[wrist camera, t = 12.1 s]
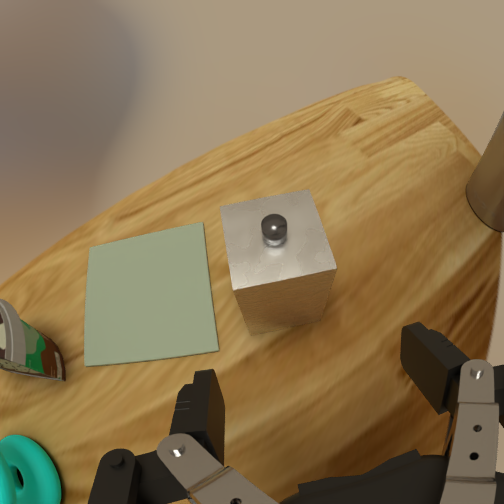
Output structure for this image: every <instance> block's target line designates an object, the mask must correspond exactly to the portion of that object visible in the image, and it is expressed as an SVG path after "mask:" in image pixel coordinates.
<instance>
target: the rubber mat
mask: <svg viewBox="0 0 504 504" xmlns="http://www.w3.org/2000/svg"><path fill="white" fill-rule="evenodd" d="M217 351H219V344H218V337H217V330H216V323H215V315H214V308H213V300H212V293H211V285H210V277H209V269H208V260H207V251H206V243H205V234H204V224H203V222H199V223H195V224H190V225H185V226H181V227H176V228H171V229H167V230H162V231H158V232H154V233H149V234H145V235H140V236H136V237H132V238H127V239H123V240H119V241H115V242H111V243H106V244H102V245H98V246H94V247H90V252H89V261H88V272H87V285H86V302H85V332H84V359H85V366H86V367H90V366H103V365H115V364H125V363H135V362H145V361H153V360H161V359H169V358H177V357H184V356H191V355H198V354H205V353H211V352H217Z"/></svg>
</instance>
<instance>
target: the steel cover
mask: <svg viewBox="0 0 504 504" xmlns="http://www.w3.org/2000/svg"><path fill="white" fill-rule="evenodd" d="M220 211H221V217H222V224H223V231H224V237H225V243H226V250H227V256H228V262H229V268H230V275H231V281H232V287H233V291H234V294H235V297H236V299H237V302H238V304H239V307H240V310H241V312H242V315H243V317H244V320H245V323H246V325H247V328H248V330H249V333H250V335H256V334H261V333H266V332H271V331H275V330H280V329H285V328H290V327H294V326H299V325H303V324H307V323H312V322H316V321H320V320H321V317H322V314H323V311H324V308H325V305H326V302H327V299H328V296H329V293H330V289H331V286H332V283H333V280H334V277H335V274H336V270H337V266H336V263H335V260H334V257H333V254H332V251H331V248H330V246H329V243H328V240H327V237H326V234H325V231H324V228H323V226H322V223H321V220H320V217H319V215H318V212H317V209H316V206H315V204H314V201H313V198H312V196H311V193H310V190H309V189H308V190H302V191H297V192H291V193H286V194H280V195H275V196H270V197H264V198H259V199H254V200H249V201H244V202H239V203H234V204H229V205H224V206H220Z"/></svg>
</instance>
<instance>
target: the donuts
mask: <svg viewBox="0 0 504 504" xmlns="http://www.w3.org/2000/svg"><path fill="white" fill-rule="evenodd" d="M17 468H18V469H19V471H20V472H21V475H22V477H23V481H24V487H22V485H21V483H20V481H19V478H18V475H17ZM60 501H61V484H60V480H59V476H58V473H57V471H56V468H55V466H54V464H53V462H52V461H51V459H50V457H49V456H48V455H47V453H46V452H45V451H44V450H43V449H42V448H41V447H40V446H39V445H38V444H37V443H36V442H34V441H33V440H31V439H29V438H27V437H25V436H22V435H9V436H7V437H5V438H3V439H2V440H1V441H0V504H60Z"/></svg>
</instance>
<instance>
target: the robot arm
mask: <svg viewBox="0 0 504 504" xmlns="http://www.w3.org/2000/svg"><path fill="white" fill-rule="evenodd" d="M466 193H467V198H468V201H469V203H470V205H471V207H472V209H473V210H474V212H475V213H476V214H477V215H478V217H479V218H480V219H481V220H482V221H483V222H485V223H486V224H487V225H488V226H490V227H491V228H493V229H495V230H498V231H501V232H504V112H503V114H502V116H501V119H500V121H499V123H498V125H497V127H496V130H495V131H494V134H493V136H492V138H491V140H490V142H489V144H488V146H487V148H486V150H485V152H484V154H483V156H482V158H481V159H480V161H479V163H478V165H477V167H476V169H475V171H474V172H473V174H472V176H471V178H470V180H469V181H468V184H467V187H466ZM400 359H401V364H402V366H403V369H404V370H405V371H406V373H407V374H408V375H409V376H410V378H411V379H412V380H413V382H414V383H415V384H416V386H417V387H418V388H419V390H420V391H421V392H422V393H423V395H424V396H425V397H426V399H427V400H428V401H429V403H430V404H431V405H432V407H433V408H434V409H435V411H436V412H437V413H438V415H440V414H442V413H444V412H447V411H449V412H450V417H449V421H448V427H447V432H446V437H445V442H444V446H443V451H442V455H423V456H420V454H419V453H418V451H417V449H415V450H412V451H410V452H407V453H405V454H402V455H400V456H397V457H394V458H391V459H389V460H387V461H386V462H384V463H382V464H381V465H379V466H377V467H376V468H374V469H372V470H370V471H369V472H367V473H365V474H363V475H357V476H345V477H330V478H325V479H321V480H316V481H312V482H307V483H302V484H298V488H299V492H298V493H296V494H294V495H292V496H290V497H288V498H286V499H284V500H283V501H281V502H280V503H277V502H276V501H274V500H273V499H272V498H270V497H269V496H268V495H266V494H265V493H264V492H262V491H261V490H260V489H258V488H257V487H256V486H255V485H253V484H252V483H251V482H250V481H248V480H247V479H246V478H245V477H243V476H242V475H241V474H240V473H238V472H237V471H236V470H235V469H234V468H232V467H230V466H227V467H226V468H225V467H224V435H225V405H224V399H223V396H222V393H221V390H220V386H219V383H218V380H217V377H216V374H215V371H214V369H209V370H202V371H195V374H194V380H193V384H185V385H184V386H183V388H182V389H181V390H180V391H179V393H178V396H177V401H176V402H177V403H176V405H175V411H174V415H173V419H172V424H171V429H170V433H169V436H168V437H166V438H164V439H163V440H162V441H161V442H160V443H159V445H158V447H157V450H155V451H153V452H150V453H146V454H142V455H138V456H134V454H133V453H132V452H131V451H129V450H127V449H114V450H111V451H109V452H108V453H106V454H105V455H104V456H103V457H102V458H101V460H100V463H99V466H98V469H97V473H96V476H95V479H94V483H93V486H92V490H91V493H90V497H89V501H88V504H168V503H172V502H175V501H179V500H183V499H186V498H187V500H188V501H189V502H190V503H191V504H504V473H500V472H496V471H495V469H496V460H497V448H498V429H499V422H500V423H501V425H502V426H503V428H504V365H499V366H494V367H492V365H491V364H490V363H488V362H487V361H484V360H480V359H474V360H470V359H469V358H468V357H467V356H466V355H465V354H464V353H463V352H462V351H460V350H459V349H458V348H457V347H456V346H455V345H453V343H452V342H450V341H449V340H448V339H447V338H446V337H445V336H444V335H443V334H442V333H440V332H437V331H435V330H432V329H430V330H428V329H427V328H426V327H425V326H424V325H423V324H421V323H420V322H416V323H413V324H410V325H407V326H404V327H403V328H402V332H401V354H400Z"/></svg>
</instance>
